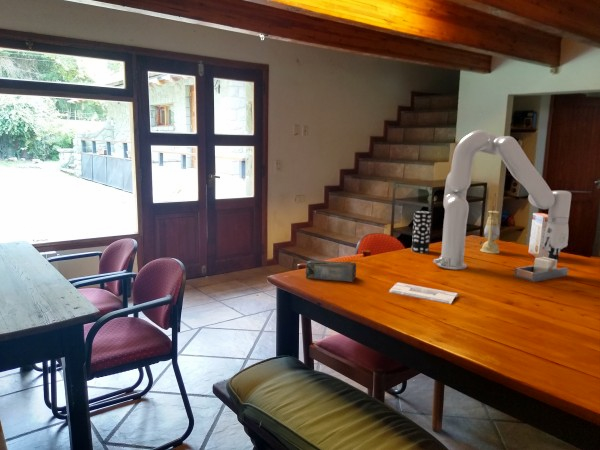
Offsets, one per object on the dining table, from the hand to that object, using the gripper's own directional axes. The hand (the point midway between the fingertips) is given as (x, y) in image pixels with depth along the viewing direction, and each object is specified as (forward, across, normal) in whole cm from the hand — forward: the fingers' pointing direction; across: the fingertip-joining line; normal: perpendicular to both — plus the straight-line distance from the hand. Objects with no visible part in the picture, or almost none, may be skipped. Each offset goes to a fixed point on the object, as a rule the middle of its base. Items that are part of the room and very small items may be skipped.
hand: (552, 263), depth 192 cm
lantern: (+5, +11, +40) cm, 42 cm away
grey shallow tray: (+5, -7, 0) cm, 9 cm away
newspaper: (+6, -69, +4) cm, 70 cm away
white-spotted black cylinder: (+5, -22, +55) cm, 59 cm away
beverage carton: (+5, -89, +36) cm, 96 cm away
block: (+5, -5, 0) cm, 7 cm away
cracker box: (+5, +25, +22) cm, 33 cm away
